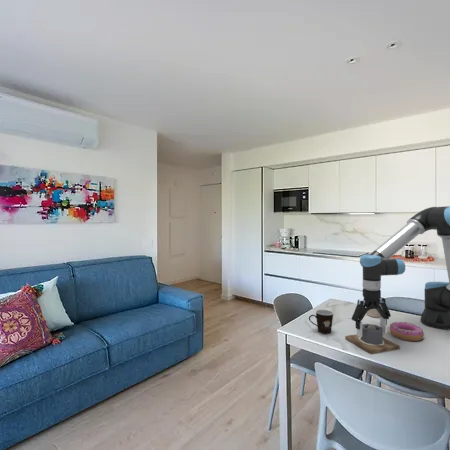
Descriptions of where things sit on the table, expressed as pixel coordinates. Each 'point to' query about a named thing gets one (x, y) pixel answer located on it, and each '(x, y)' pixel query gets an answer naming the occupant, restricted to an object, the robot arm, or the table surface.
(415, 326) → the donut
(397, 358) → the table surface
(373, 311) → the teacup with lid
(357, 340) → the post stand
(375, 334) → the ring
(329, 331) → the coffee mug
